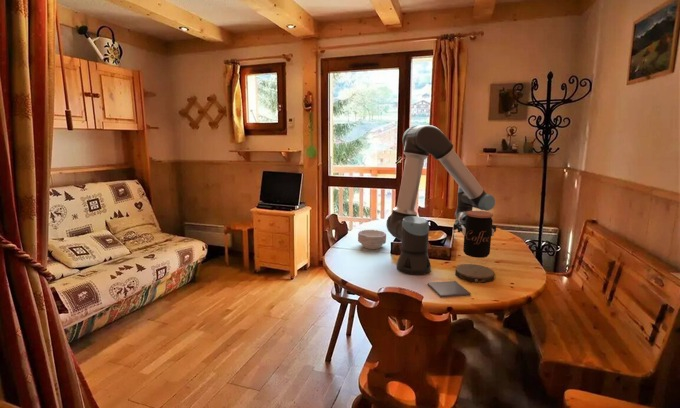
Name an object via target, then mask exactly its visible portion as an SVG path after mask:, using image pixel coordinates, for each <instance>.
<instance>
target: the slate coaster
mask: <svg viewBox="0 0 680 408" xmlns="http://www.w3.org/2000/svg"><path fill="white" fill-rule="evenodd" d="M427 287H429V288H430V289H431V290H432V291H433V292H434V294H436V295H437V296H438V297H439V298H441V299H442V298H443V299H444V298H456V297H470V296H471V295H472V294H471V292H470V291H469V290H467V288H465V287H463V285H461V284H460V283H458V281H456V280H451V281H447V280H446V281H434V282H431V281H430V282H427Z"/></svg>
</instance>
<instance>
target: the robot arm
mask: <svg viewBox="0 0 680 408" xmlns="http://www.w3.org/2000/svg"><path fill="white" fill-rule="evenodd" d="M402 145H403V147H404V149H403V155H404V156H405V160H404V166H403V172H402V178H401V182H400V187H399V192H398V197H397V203H396V206H395V207H393V208H392V211H391V214H390V215H389V216H388V217H387V220H386V225H385V226H386V229H387V231H388V232H389V233H390V235H391V236H392V237H394V238H397V240H399V241H401V251H400V254H399V256H398V259H397V262H396V270H397V271H398V272H399V273H403V274H405V275H412V276H414V275H415V276H422V275H426V274H429V273H430V272H431V271H432V267H431V266H432V265H431V262H430V258H429V254H428V250H429V237H430V236H429V233H430V222H429V221H428V220H427V219H426V218H424V217H421V216H417V211H416V210H415V208H416V204H417V203H416V202H417V200H418V199H417V198H418V195H419V194H418V193H419V188H420V184H421V178H422V173H423V167H424V163H425V160H426V159H427V158H429V155H431V156H432V157H433V158H434V160H437V161H438V162H440V164H441V165H442V166H443V167H444V169H445V170H446V171H447V173H449V175H450V176H451V178H452V179H453V180H454V181H455V183H456V184H457V185H458V189H457V193H456V194H457V197H456V198H457V201H456V202H457V203H456V210H455V213H454V218H455V219H456V220H455V222H454V223H453V227H452V229H453V231H456V230H457V233H461V234H462V235H463V236H464V235H465V233H466V229H465V219H466V217H467V215H466V212H467V211H473V209H474V208H475V209H478V210H480V211H485V212H489V211H491V210H492V209H493V208H494V207H495V205H496V199H495V197H494V196H493V194H489V193H487V192H486V191H485V190H484V188H483V187H482V186H481V184H480V183H479V181H478V180H477V179H476V178H475V176H474V175H473V174H472V172H471V171H470V170H469V169H468V167H467V166H466V165H465V163H464V162H463V160H462V159H461V157H460V156H459V155H458V153H456V151H455V150H454V144H453V143H452V142H451V140H450V139H449V138H448V136H447V135H446V134H445V133H444V132H443V131H442V130H441V129H439V127H436V126H434V125H432V124H431V125H430V124H426V125H413V126H411V127H409V128H407V129H406V130H405V131H404V133H403V135H402ZM496 232H497V225H494V224H492V233H491V237H494V236H495V233H496Z"/></svg>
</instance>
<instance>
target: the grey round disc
mask: <svg viewBox="0 0 680 408" xmlns="http://www.w3.org/2000/svg"><path fill="white" fill-rule="evenodd" d="M495 274H496V273H495V271H494V270H493V269H492V268H489V267H487V266H484V265H480V264H473V263H463V264H459V265H457V266H455V273H454V275H455V276H456V278H458V279H460V280H461V281H464V282H468V283H471V284H472V283H473V284H489V283H492V282H494V280H495Z"/></svg>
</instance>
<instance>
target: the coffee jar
mask: <svg viewBox="0 0 680 408" xmlns="http://www.w3.org/2000/svg"><path fill="white" fill-rule="evenodd" d="M466 215H467V217H466V219H465V229H466V233H465V235H463V247H462V249H463V250H462V251H463V253H464V254H465V255H466V256H468V257H471V258H477V259H479V258H480V259H482V258H487V257H488V256H489V255H490V254H491V245H492V244H491V243H492V236H491V233H492V225H493V217H494V213H492V212H489V211H486V210H472V211H467V212H466Z"/></svg>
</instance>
